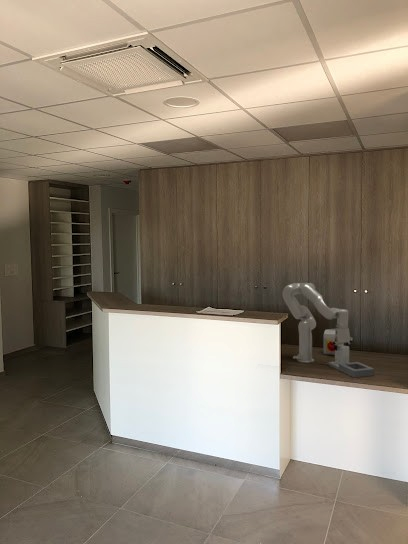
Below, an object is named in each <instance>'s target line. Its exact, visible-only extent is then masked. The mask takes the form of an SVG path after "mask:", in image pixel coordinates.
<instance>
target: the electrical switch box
mask: <svg viewBox="0 0 408 544" xmlns="http://www.w3.org/2000/svg"><path fill="white" fill-rule="evenodd" d="M335 331H336V328H330V329H325V330H324V333H323V354H324V355H332V356H335V350H334V344H333V343H332V341H331V339H332V338H333V337H335ZM334 342H335V340H334ZM344 344H345V343H338V344H337V345H344Z"/></svg>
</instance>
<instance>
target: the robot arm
mask: <svg viewBox="0 0 408 544" xmlns="http://www.w3.org/2000/svg"><path fill="white" fill-rule="evenodd" d="M281 295H282V298H283V301H284V302H285V304H286V306H287V307H288V309H289V311H290V313H291V314H292V317H294V318H295V319H296V320H300V321H299V323H298V327H297V328H298V339H299V340H298V342H299V343H298V345H299V346H298V352H299V353H298V354H297V355H294V356H293V357H292V359H294V360H295V359H296V361H297V362H299V363H306V364H307V363H309V364H310V363H314V362H315V358H313V335H312V330H314V329H315V328H316V327H317V322H316V319H315V318H314V316H313V314H312V312H311V311H310V310H309V307H307V306H306V305H302V304H300V302H299V301H298V299H297V298H296V297H295V295H304V297H305V298H306V299H307V300H309V301H310V302H311V303H312V304H313V305H314V307H315V308H316V310H317V312H318V313H319V314H320V315H322V316H323V317H324V318H325V319H326V320H333V319H337V320H336V325H335V327H336V328H335V329H336V331H335V337H333V338H332V339H331V341H332V343H333V344H334V350H336V351H337V344H338V343H344V344H345V346H349V347H350V345H351V343H352V342H353V337H351V335H350V329H349V310H348V309H346V308H345V309H344V308H337V307H331V308H330V307H329V306H327V304H326V303H325V302H324V299H323V298H324V297H323V295H321V293H319V291H317V289H316V286H315V284H313V283H311V282H294V283H290V284H287V285H286V286H285V287H283V290H282V294H281ZM334 340H335V342H334Z"/></svg>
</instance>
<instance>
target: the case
mask: <svg viewBox="0 0 408 544" xmlns="http://www.w3.org/2000/svg"><path fill="white" fill-rule="evenodd" d="M325 365H328V366H329V367H331V368H334V369H335V370H337V371H339V372H342V373H343V372H344V373H343V374H345V373H346V374H345V375H347V374H348V375H347V376H349V375H350V376H349V377H351V376H352V378H353V377H354V378H355V377H356V378H365V377H375V373H376V372H375V371H376V370H375V368H373V367H371V366H368V365H366V364H364V363H361V362H360V361H355V362H354V361H353V362H349V363H343V364H337V363H335V361H329V362H327V361H326V364H325ZM354 378H353V379H354Z"/></svg>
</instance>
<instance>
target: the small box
mask: <svg viewBox="0 0 408 544" xmlns="http://www.w3.org/2000/svg"><path fill="white" fill-rule="evenodd" d="M334 362H335V363H337V364H343V363H350V345H349V346H346V344H345V345H337V351H336V350H335V355H334Z"/></svg>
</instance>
